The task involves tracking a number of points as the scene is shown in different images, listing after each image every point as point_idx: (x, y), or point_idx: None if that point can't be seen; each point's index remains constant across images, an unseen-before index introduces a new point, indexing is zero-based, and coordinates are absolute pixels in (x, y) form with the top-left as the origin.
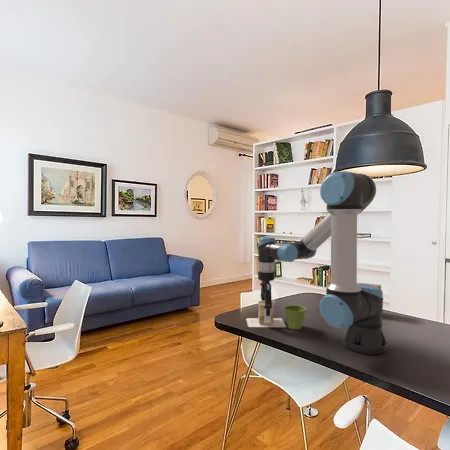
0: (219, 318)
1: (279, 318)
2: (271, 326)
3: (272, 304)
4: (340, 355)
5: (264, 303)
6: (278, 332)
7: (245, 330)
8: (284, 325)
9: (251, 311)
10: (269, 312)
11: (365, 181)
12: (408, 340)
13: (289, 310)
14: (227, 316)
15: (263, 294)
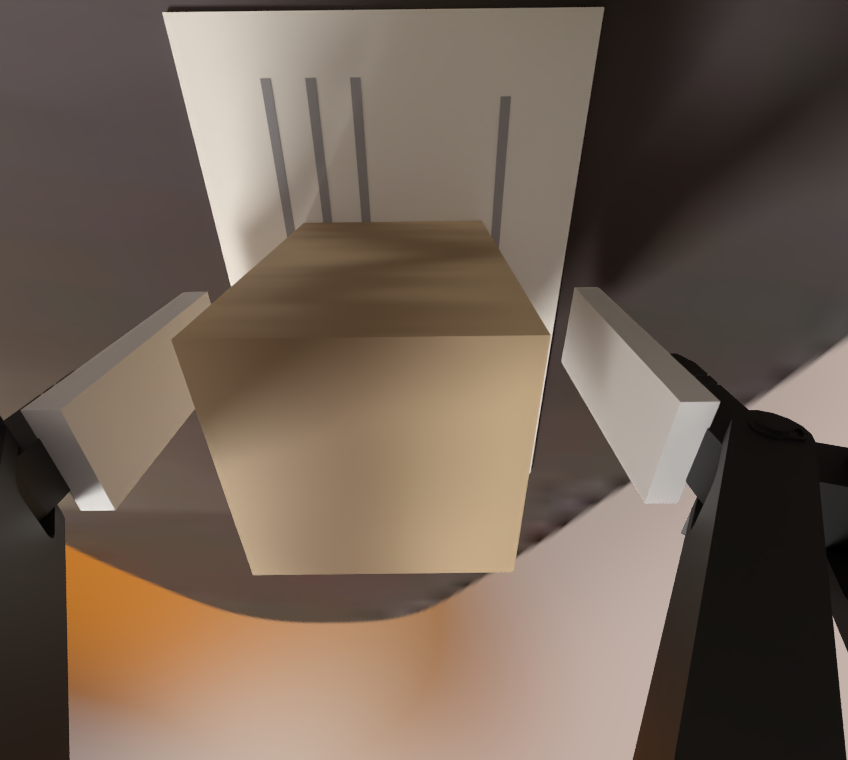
0: (317, 621)
1: (180, 61)
2: (545, 253)
3: (510, 355)
4: None
5: (418, 504)
6: (751, 190)
7: (602, 490)
8: (523, 35)
9: (3, 413)
10: (720, 393)
11: None
12: None
13: None
14: (255, 584)
15: (47, 643)
